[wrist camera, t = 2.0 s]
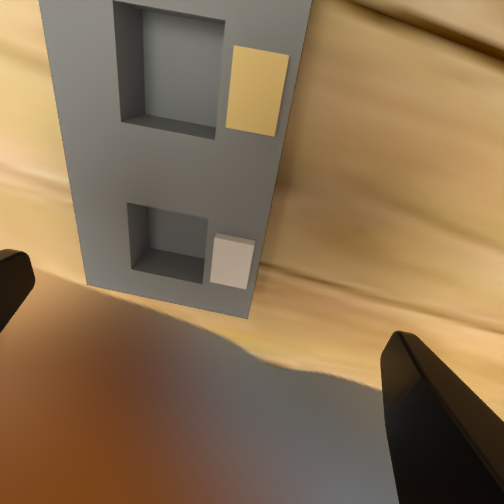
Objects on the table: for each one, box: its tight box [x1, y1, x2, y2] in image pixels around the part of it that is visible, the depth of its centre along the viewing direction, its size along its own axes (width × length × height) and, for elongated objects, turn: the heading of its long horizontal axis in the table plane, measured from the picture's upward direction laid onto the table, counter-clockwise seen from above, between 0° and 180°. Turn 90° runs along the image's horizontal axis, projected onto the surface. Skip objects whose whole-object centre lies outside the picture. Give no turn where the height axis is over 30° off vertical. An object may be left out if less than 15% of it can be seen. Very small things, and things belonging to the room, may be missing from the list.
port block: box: [39, 0, 312, 319], centre depth 16 cm, size 10×16×4 cm, turn 171°
